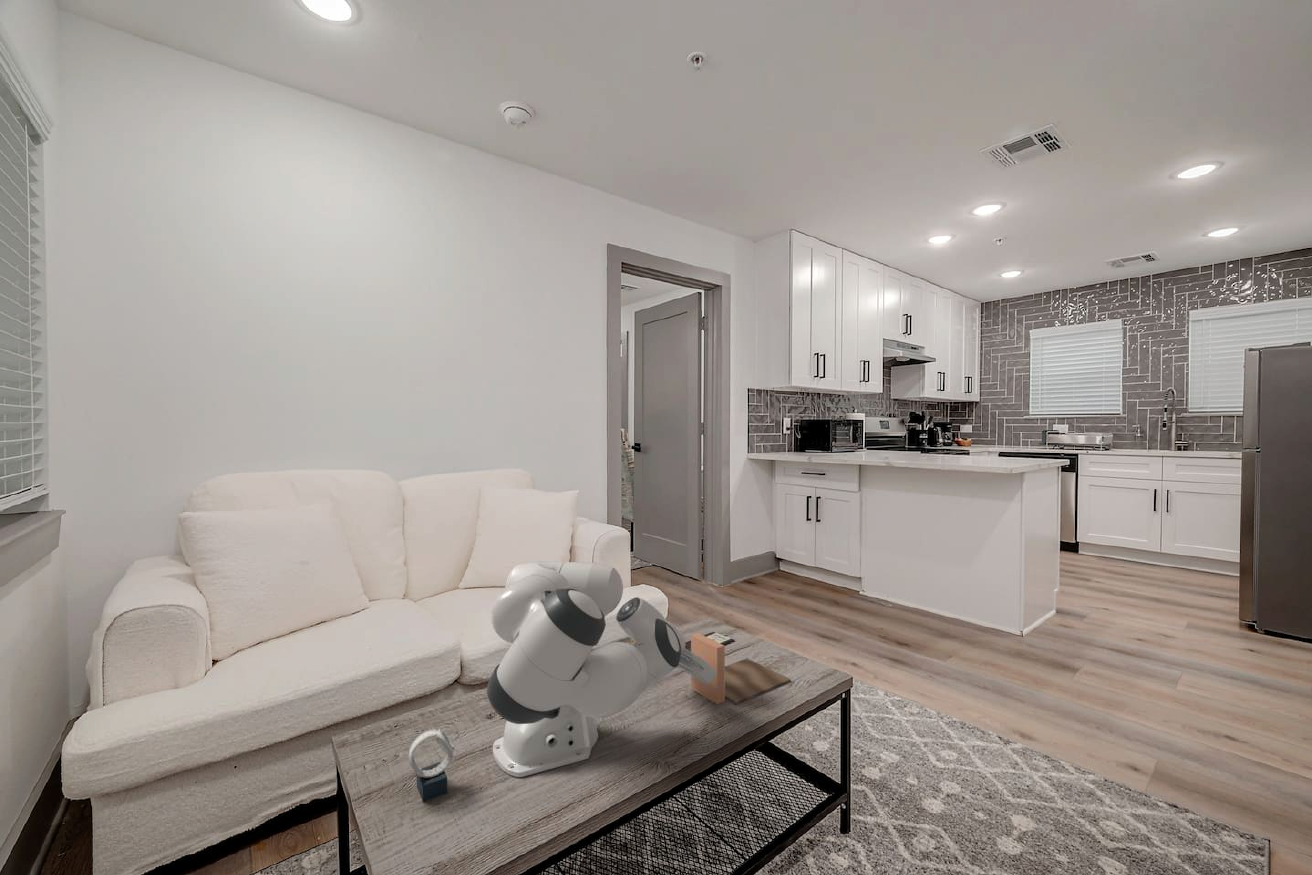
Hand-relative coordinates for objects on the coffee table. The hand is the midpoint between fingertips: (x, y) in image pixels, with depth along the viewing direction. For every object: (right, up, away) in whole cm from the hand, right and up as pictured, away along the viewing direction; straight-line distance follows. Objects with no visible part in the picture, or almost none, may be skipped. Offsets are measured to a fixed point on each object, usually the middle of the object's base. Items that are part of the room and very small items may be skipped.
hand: (697, 674), depth 137 cm
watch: (-53, -8, -33) cm, 63 cm away
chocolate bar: (+5, -6, +33) cm, 34 cm away
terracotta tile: (+3, -6, +2) cm, 7 cm away
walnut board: (+13, -6, +10) cm, 17 cm away
